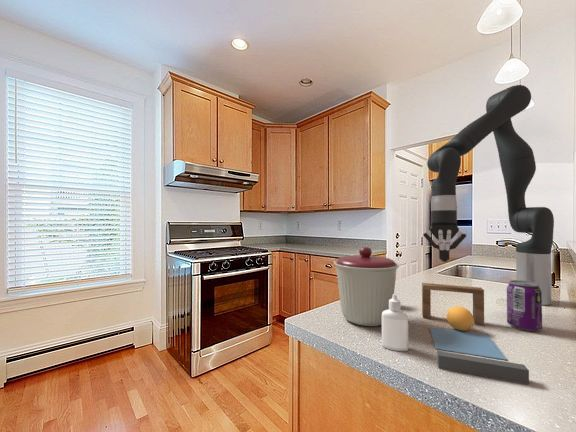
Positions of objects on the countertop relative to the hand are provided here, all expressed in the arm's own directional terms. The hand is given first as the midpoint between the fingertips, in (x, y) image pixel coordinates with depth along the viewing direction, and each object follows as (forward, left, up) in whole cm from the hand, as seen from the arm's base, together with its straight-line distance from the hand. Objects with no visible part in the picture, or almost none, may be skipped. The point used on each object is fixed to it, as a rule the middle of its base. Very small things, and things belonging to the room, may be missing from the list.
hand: (444, 261), depth 90 cm
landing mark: (+28, 0, -15) cm, 32 cm away
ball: (+20, +1, -12) cm, 23 cm away
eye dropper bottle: (+37, -15, -15) cm, 43 cm away
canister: (+22, -23, -15) cm, 35 cm away
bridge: (+13, 0, -15) cm, 20 cm away
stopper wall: (+42, 0, -15) cm, 45 cm away
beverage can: (+12, +17, -15) cm, 26 cm away
